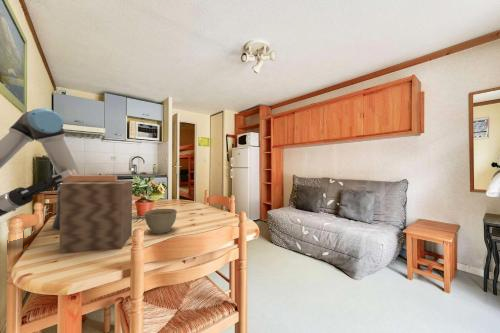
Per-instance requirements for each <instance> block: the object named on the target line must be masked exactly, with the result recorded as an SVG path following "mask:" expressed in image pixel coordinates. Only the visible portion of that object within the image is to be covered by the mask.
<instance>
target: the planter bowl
mask: <svg viewBox="0 0 500 333" xmlns="http://www.w3.org/2000/svg"><path fill="white" fill-rule="evenodd" d="M177 212H178V211H177V209H174V208H155V209H150V210H147V211H144V218H145V222H146V225H147V227H148V228H149V230H150V232H151V234H154V235H155V234H156V235H157V234H166V233H169V232H170V231H171V228H172V227H173V226H174V223H175V222H176V218H177ZM165 232H166V233H165Z"/></svg>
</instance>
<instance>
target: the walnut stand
mask: <svg viewBox="0 0 500 333" xmlns="http://www.w3.org/2000/svg"><path fill="white" fill-rule="evenodd" d="M59 187H60V229H59V246H58V247H59V249H58V250H59V252H58V253H59V254H61V255H62V254H72V253H85V252H86V253H87V252H96V251H109V250H120V249H121V250H122V248H124V246H125V244H126V243H127V242H128V241H129V239H130V238H131V236H132V234H133V233H132V232H133V230H132V229H133V228H132V226H133V224H132V223H133V221H132V220H133V180H131V179H129V180H127V179H126V180H123V179H121V180H120V179H117V181H75V182H69V183H63V184H62V183H60V184H59Z"/></svg>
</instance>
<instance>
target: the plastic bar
mask: <svg viewBox="0 0 500 333" xmlns="http://www.w3.org/2000/svg"><path fill="white" fill-rule="evenodd" d="M55 175H56V174H53V175H52V176H51V178H52V177H53V176H55ZM117 180H118V175H116V174H115V175H114V174H110V175H109V174H103V175H102V174H81V175H71V176H69V177H67V178H65V179H63V180H61V181H117Z"/></svg>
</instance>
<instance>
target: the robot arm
mask: <svg viewBox="0 0 500 333" xmlns="http://www.w3.org/2000/svg"><path fill="white" fill-rule="evenodd" d="M63 127H64V120H63V117H62V116H61V115H60V114H59V113H57V112H56V111H54V110H53V109H50V108H45V107H44V108H36V109H31V110H30V111H26V112H24V113H23V114H22V115H21V116H20V117H19V118H18V119H17V120H16V122H14V123H13V124H12V125H11V126H10V127H9V128H8V133H6V134H5V135H4V137H2V138H1V139H0V169H2V167H4V166H5V165H6V164H7V163H8V162H9V161H10V160H11V159H12V158H14V156H15V155H16V154H17V153H18V152H19V151H21V149H23V148H24V147H25V146H26V144H28V143H31V142H32V143H33V142H34V141H35V142H38V143H40V144H41V145H42V147H43V149H44V151H45V153H46V155H47V158H48V159H49V161H50V163H51V165H52V167H53V168H54V170H55V172H56V174H54V175H55V176H53V177H52V176H51V177H48V178H44V179H41V180H40V181H38V182H36V183H34V184H30V186H28V187H22V186H18V187H17V188H15V189H12V190H10V191H7V192H6V193H2V194H1V195H0V217H2V216H4V215H6V214H8V213H10V212H16V210H17V209H19V208H21V207H23V206H25V205H27V204H30V203H31V202H33V200H34V196H37V195H40V194H41V193H43V192H45V191H47V190H49V189H52V188H53V187H56V186H57V185H60V184H63V183H69V182H75V181H61V180H63V179H65V178H67V177H69V176H71V175H82V174H81V171H80V170H79V168H78V166H77V163H76V161H75V160H74V157H73V155H72V154H71V151H70V149H69V147H68V145H67V143H66V140H65V139H64V138H65V135H66V132H65V130H64V128H63ZM56 191H57V192H56V200H57V202H56V207H57V208H56V209H57V211H56V215H55V217H54V220H53V222H52V228H53V229H59V230H60V186H58V187H57V190H56Z"/></svg>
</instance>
